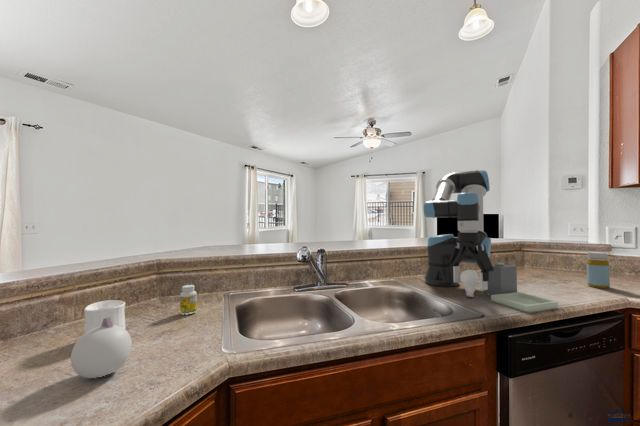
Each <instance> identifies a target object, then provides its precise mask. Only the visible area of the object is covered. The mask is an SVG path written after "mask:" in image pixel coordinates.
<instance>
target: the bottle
mask: <svg viewBox="0 0 640 426" xmlns="http://www.w3.org/2000/svg"><path fill="white" fill-rule="evenodd" d="M586 277H587V279H586V280H587V286H589V287H592V288H597V289H609V288H610V287H611V285H610V284H611V283H610V282H611V281H610V280H611V279H610V264H609V260H608V252H603V251H587V260H586Z"/></svg>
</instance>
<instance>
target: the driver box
mask: <svg viewBox="0 0 640 426" xmlns="http://www.w3.org/2000/svg"><path fill="white" fill-rule="evenodd" d="M491 264H492V266H493V269H494V271H491V272H489V281H488V290H483V292H484V293H483V294H485V295H489V296H491V295H496V294H505V293H513V292H518V277H517V276H518V275H517V273H518V272H517V266H516V265H512V264H506V263H505V262H502V261H501V262H500V261H498V262H497V261H496V262H494V263H491Z"/></svg>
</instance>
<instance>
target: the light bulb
mask: <svg viewBox="0 0 640 426" xmlns="http://www.w3.org/2000/svg"><path fill="white" fill-rule="evenodd" d="M460 283H462V285H463V287H464V290H465V296H466V297H468V298H470V299H471V298H474V297H475V291H476V287H477V286H478V284H479V283H480V275H479V274H478V273H477V272H476V271H475V270H472V269H465V270H463V271H462V272H460Z"/></svg>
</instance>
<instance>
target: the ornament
mask: <svg viewBox="0 0 640 426" xmlns="http://www.w3.org/2000/svg"><path fill="white" fill-rule="evenodd" d="M132 343H133V341H132V338H131V335H130V333H129V331H128V330H126V328H125V329H124V328H122V327H120V326H116V325H112V322H111V318H110V317H106V318H104V319H103V322H102V326H99V327H96V328H94V329H91V330H90V331H88V332H86V333H85V334H84V333H83V335H81V336H80V337H79V338H78V339H77V341H76V342H75V344H74V346H73V348H72V350H71V354H70V364H71V367H72V369H73V371H74V372H75V374H77V375H78V376H80V377H82V378H85V379H91V378H94V379H96V378H95V377H100V376H104V375H107V374H109V373H112V372H113V373H115V372H116V370H117V371H118V370H119V369H121V368H122V367H123V365H124V364H125V363H126V362H127V360H128V359H129V358H130V354H131V351H132V346H133V344H132ZM114 371H115V372H114ZM113 373H112V374H113ZM107 376H108V375H107ZM104 377H105V376H104Z"/></svg>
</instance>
